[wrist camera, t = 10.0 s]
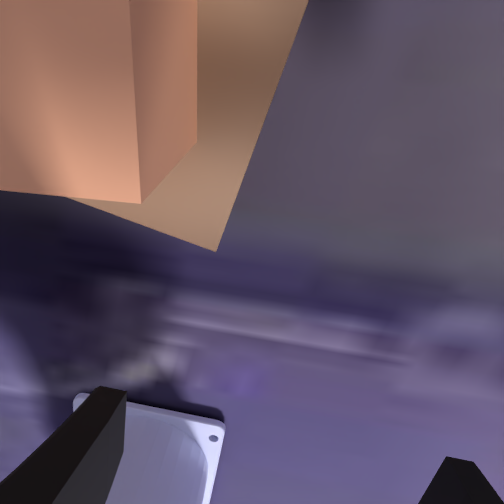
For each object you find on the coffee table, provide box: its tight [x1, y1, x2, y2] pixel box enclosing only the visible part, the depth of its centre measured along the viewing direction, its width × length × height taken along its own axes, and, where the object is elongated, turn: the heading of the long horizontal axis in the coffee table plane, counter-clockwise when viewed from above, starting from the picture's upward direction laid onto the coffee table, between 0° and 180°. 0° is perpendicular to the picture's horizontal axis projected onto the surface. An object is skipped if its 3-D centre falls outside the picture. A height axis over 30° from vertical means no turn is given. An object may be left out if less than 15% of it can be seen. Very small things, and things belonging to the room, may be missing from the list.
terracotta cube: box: [0, 0, 197, 204], centre depth 10 cm, size 4×4×5 cm
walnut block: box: [67, 0, 309, 252], centre depth 14 cm, size 9×9×4 cm
